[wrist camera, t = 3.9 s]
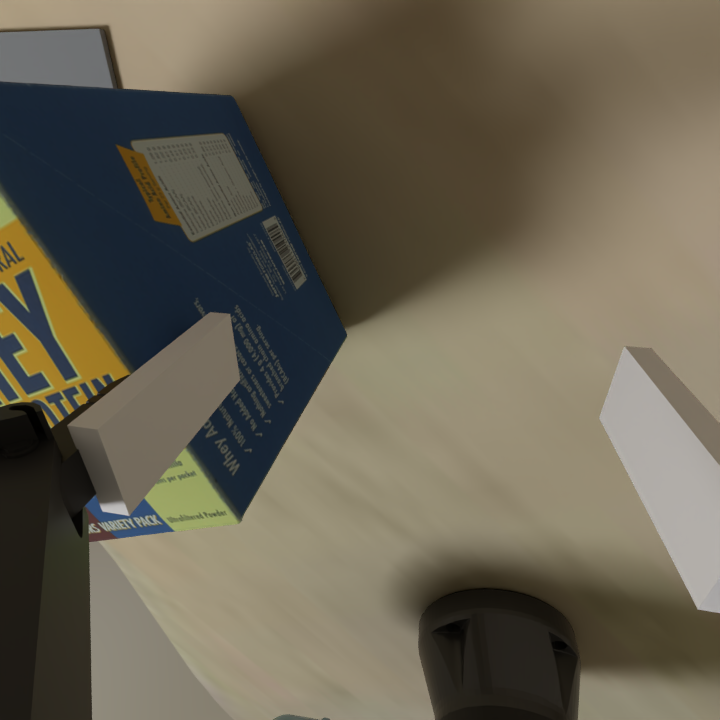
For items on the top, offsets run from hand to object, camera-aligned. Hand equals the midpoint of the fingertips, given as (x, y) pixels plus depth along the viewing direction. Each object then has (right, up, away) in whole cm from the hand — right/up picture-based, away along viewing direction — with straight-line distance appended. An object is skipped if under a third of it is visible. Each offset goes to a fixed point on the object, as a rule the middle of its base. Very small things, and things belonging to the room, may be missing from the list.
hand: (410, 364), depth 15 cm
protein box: (-10, +7, +13) cm, 18 cm away
